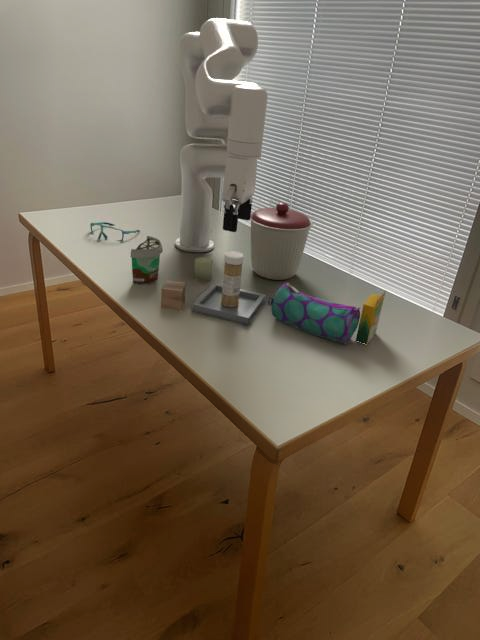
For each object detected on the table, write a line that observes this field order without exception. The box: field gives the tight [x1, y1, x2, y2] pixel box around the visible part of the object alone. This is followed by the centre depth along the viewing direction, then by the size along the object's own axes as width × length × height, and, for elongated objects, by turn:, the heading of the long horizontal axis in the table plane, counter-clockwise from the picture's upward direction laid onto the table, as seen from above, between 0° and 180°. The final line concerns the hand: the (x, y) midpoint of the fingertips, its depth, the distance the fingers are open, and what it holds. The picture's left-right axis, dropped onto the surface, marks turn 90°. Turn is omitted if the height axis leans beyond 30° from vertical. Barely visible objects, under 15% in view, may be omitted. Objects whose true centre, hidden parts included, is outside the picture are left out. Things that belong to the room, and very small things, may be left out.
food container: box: [130, 235, 164, 285], centre depth 134 cm, size 12×6×10 cm, turn 168°
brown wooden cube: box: [160, 280, 187, 310], centre depth 123 cm, size 5×5×5 cm
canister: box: [249, 202, 314, 281], centre depth 143 cm, size 18×18×21 cm
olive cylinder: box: [193, 256, 214, 282], centre depth 139 cm, size 5×5×5 cm
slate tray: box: [191, 282, 267, 326], centre depth 125 cm, size 14×14×2 cm
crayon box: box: [355, 289, 387, 345], centre depth 116 cm, size 7×3×12 cm, turn 150°
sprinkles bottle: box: [221, 250, 245, 307], centre depth 122 cm, size 5×5×14 cm
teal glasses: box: [89, 221, 141, 242], centre depth 164 cm, size 14×15×5 cm
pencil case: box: [266, 282, 361, 345], centre depth 117 cm, size 21×9×10 cm, turn 57°
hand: (236, 224), depth 116 cm, fingers open, 9 cm apart
